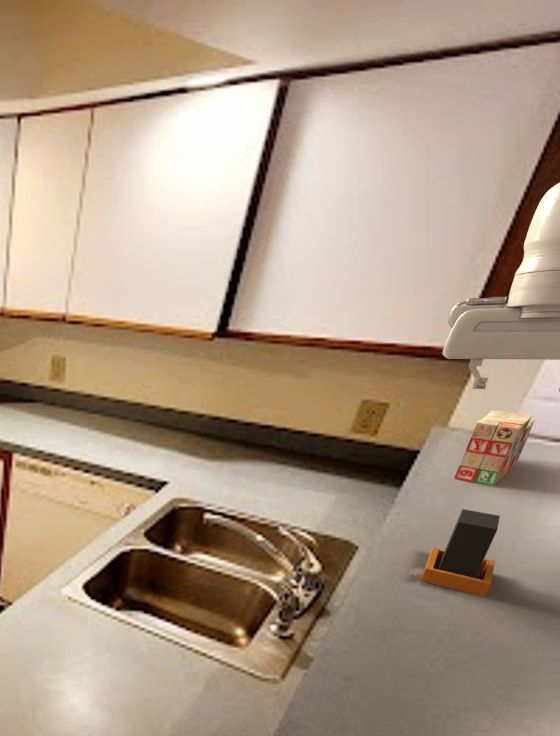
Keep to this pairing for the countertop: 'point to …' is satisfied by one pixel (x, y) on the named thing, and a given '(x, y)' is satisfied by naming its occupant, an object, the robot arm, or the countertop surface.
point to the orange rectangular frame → (458, 575)
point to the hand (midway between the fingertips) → (520, 390)
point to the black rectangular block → (469, 543)
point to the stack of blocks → (494, 447)
